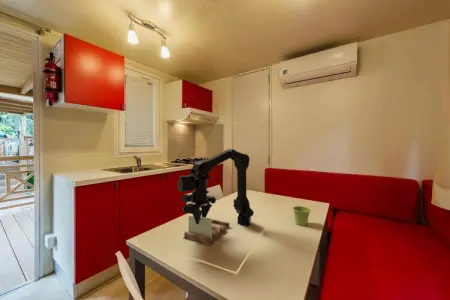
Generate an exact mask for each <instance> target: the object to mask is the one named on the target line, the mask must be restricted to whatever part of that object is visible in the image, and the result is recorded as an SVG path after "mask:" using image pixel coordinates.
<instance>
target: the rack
mask: <svg viewBox="0 0 450 300" xmlns="http://www.w3.org/2000/svg"><path fill="white" fill-rule="evenodd" d="M211 219H212V224H214V225H218V226H220V234H219V232H217V231H213V230H212V241H211V238H208V237H204V236H201V235H197V234H193V233H190V232H189V231H184V234H183V237H182V239H184V240H187V241H190V242H195V243H196V244H197V243H198V244H200V245H204V246H208V247H211V246H212V245H213V244H215V243H216V242H217V241H218V240H219V239H220V238H221V237H222V236H223V235H224V234H225V233H227V231H228V230H230V229H231V227H230V222H227V221H222V220H218V219H214V218H211Z"/></svg>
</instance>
